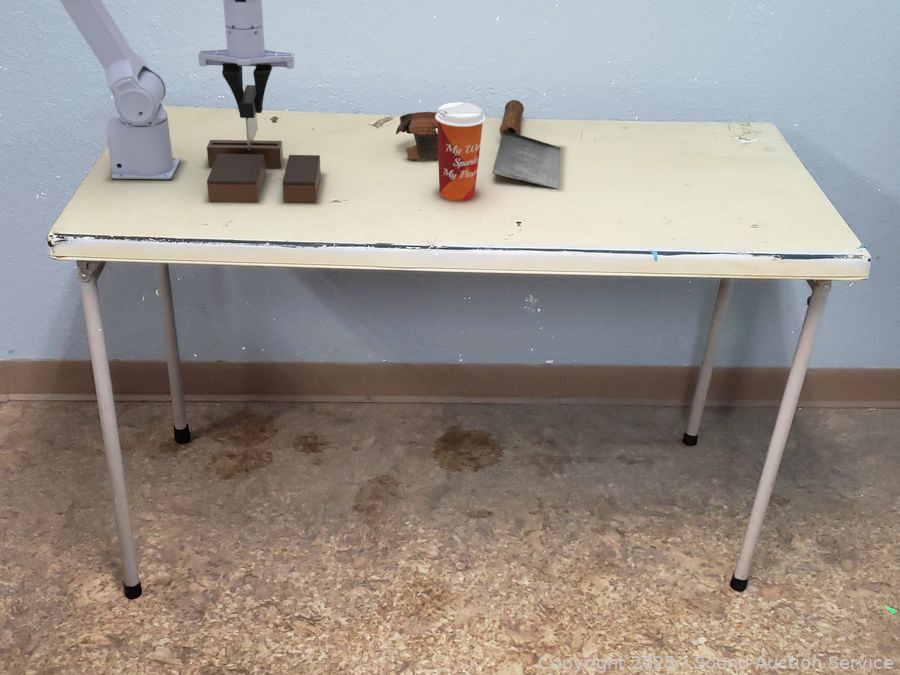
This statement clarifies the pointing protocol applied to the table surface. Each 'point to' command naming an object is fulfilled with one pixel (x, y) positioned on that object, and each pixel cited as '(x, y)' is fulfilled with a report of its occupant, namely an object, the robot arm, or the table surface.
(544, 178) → the meat cleaver
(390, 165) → the table surface
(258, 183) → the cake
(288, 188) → the brown rectangular block
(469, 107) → the paper cup
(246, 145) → the knife block
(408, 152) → the brown irregular chunky piece
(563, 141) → the table surface
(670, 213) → the table surface
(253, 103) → the bench scraper
